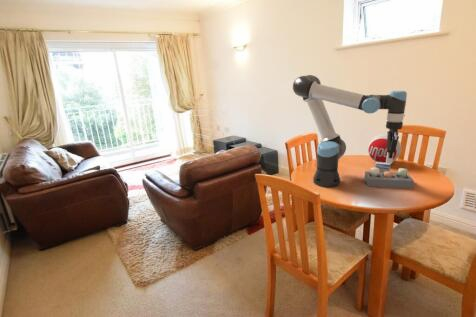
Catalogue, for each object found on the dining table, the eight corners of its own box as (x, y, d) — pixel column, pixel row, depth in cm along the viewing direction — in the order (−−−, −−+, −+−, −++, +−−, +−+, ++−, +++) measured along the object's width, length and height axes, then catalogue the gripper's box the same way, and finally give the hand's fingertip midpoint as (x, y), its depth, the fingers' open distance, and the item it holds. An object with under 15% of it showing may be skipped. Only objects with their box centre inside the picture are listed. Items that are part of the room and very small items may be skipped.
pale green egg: (398, 180, 146) (399, 170, 144) (396, 177, 150) (397, 168, 148) (407, 180, 145) (408, 171, 143) (405, 177, 149) (406, 168, 147)
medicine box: (374, 177, 160) (375, 163, 157) (374, 174, 164) (375, 161, 161) (389, 178, 156) (390, 164, 154) (388, 176, 160) (390, 162, 157)
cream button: (370, 178, 150) (371, 169, 148) (369, 176, 154) (370, 167, 152) (379, 179, 149) (380, 170, 147) (377, 176, 153) (378, 167, 151)
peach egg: (384, 182, 149) (385, 173, 147) (382, 179, 153) (383, 171, 151) (392, 183, 147) (393, 174, 146) (390, 180, 151) (391, 171, 150)
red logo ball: (363, 164, 182) (365, 136, 176) (371, 156, 196) (373, 130, 190) (395, 169, 169) (399, 139, 163) (401, 161, 184) (405, 132, 178)
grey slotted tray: (367, 186, 148) (368, 178, 147) (364, 178, 159) (365, 171, 157) (412, 188, 142) (414, 180, 140) (405, 180, 153) (407, 172, 151)
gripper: (406, 123, 133) (399, 167, 140) (399, 118, 145) (393, 159, 152) (389, 123, 135) (384, 166, 142) (384, 118, 147) (379, 159, 154)
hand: (389, 163), depth 147 cm, fingers closed
